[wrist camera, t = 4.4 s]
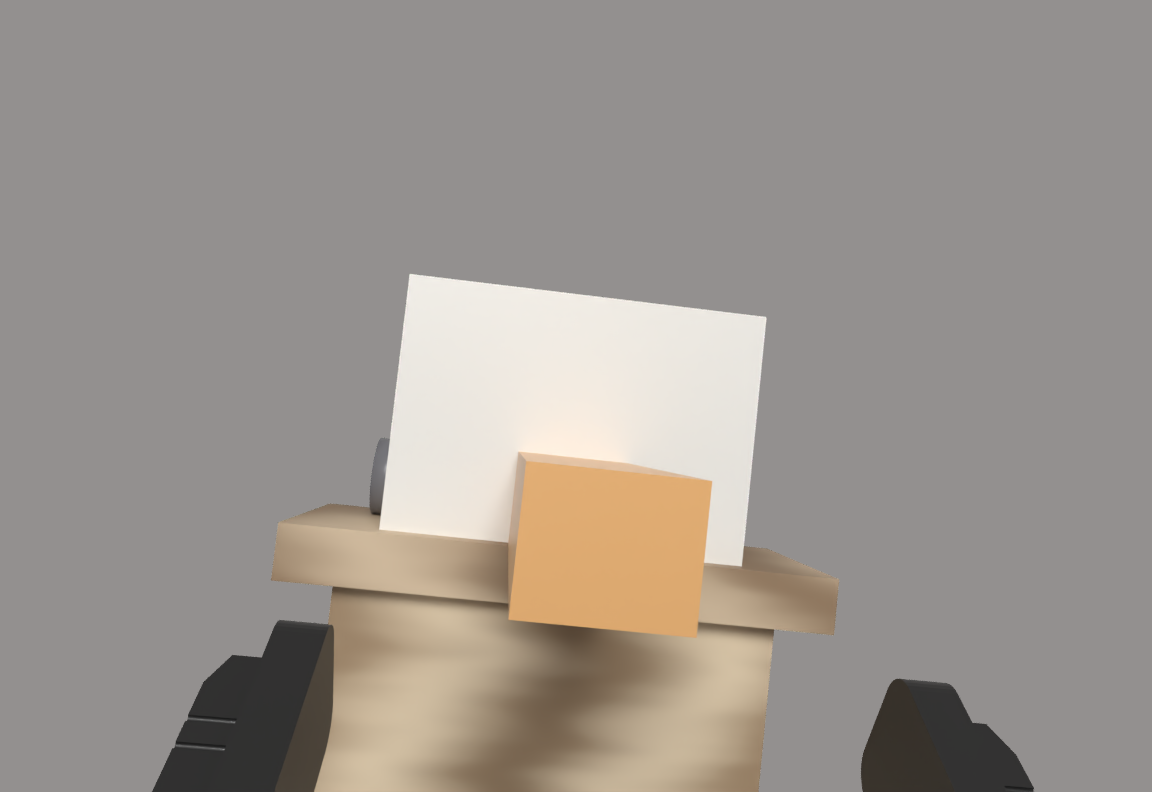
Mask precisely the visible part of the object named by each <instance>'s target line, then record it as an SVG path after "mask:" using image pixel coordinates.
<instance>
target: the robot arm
mask: <svg viewBox="0 0 1152 792" xmlns="http://www.w3.org/2000/svg"><path fill="white" fill-rule="evenodd" d="M333 679H334V628H333V625H328V624H317V623H306V622H295V621H284V620H279V621H278V622H277V623H276V625H275V627H274V629H273V631H272V634H271V636H270V639H269V641H268V644H267V646H266V649H265V651H264V654H263V656H262V658H259V657H248V656H237V655H232V656H231V657H230V658H229V659H228V660H227V661H226V662H225V663H224V664H223V665H221V666H220V668H218V669H217V670H216V671H215V672H214V673H213V674H212V675H211V676H210V677H208V678H207V679H206V681H204V682H203V685H202V687H201V689H200V691H199V693H198V695H197V697H196V699H195V701H194V704H193V706H192V708H191V710H190V712H189V714H188V720H187V721H185V723H184V725H183V727H182V729H181V732H180V733H179V736H178V738H177V740H176V745H175V748H173V749H172V750H171V753H170V755H169V757H168V759H167V761H166V763H165V765H164V768H163V770H162V772H161V774H160V776H159V778H158V780H157V782H156V785H155V787H154V789H153V791H152V792H314V790H315V787H316V783H317V780H318V776H319V773H320V769H321V766H322V762H323V759H324V755H325V752H326V748H327V743H328V739H329V733H330V728H331V721H332V712H333ZM861 780H862V789H863V792H1033V789H1034V787H1033V786H1032V784H1031V782H1030V780H1029V778H1028V776H1027V774H1026V773H1025V771H1024V769H1023V767H1022V765H1021V763H1020V761H1019V760H1018V758H1017V756H1016V754H1014V752H1013V751H1012V750H1011V749H1010V748H1009V747H1008V746H1007V745H1006V744H1005V743H1004V742H1003V741H1002V740H1001V739H1000V738H999V737H998V736H997V735H996V734H995V733H994V732H993V731H992V730H991V729H990V728H989V727H988V726H987V725H986V724H979V723H972V721H971V720H970V717H969V716H968V714H967V712H966V710H965V708H964V706H963V704H962V702H961V700H960V698H959V696H958V694H957V692H956V690H955V689H954V688H953V687H952V686H951V685H950V684H947V683H937V682H927V681H917V680H905V679H895V680H894V681H893V682H892V683H891V684H890V686H889V688H888V690H887V693H886V695H885V698H884V700H883V703H882V706H881V708H880V711H879V714H878V716H877V719H876V721H875V724H874V726H873V729H872V732H871V734H870V737H869V739H868V742H867V744H866V747H865V750H864V753H863V757H862V764H861Z"/></svg>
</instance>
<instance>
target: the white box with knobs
mask: <svg viewBox="0 0 1152 792" xmlns="http://www.w3.org/2000/svg"><path fill="white" fill-rule="evenodd" d="M765 326H766V317H762V316H753V315H745V314H736V313H728V312H720V311H711V310H704V309H695V308H686V307H679V306H670V305H662V304H654V303H645V302H637V301H629V300H621V299H612V298H604V297H596V296H588V295H579V294H571V293H563V292H554V291H546V290H537V289H530V288H521V287H513V286H505V285H496V284H488V283H480V282H471V281H463V280H455V279H447V278H439V277H430V276H421V275H414V274H410V277H409V285H408V294H407V302H406V310H405V319H404V327H403V335H402V343H401V352H400V360H399V369H398V377H397V385H396V393H395V402H394V411H393V418H392V427H391V435H390V439H387V438H381V439H380V440H379V442H378V446H377V449H376V453H375V457H374V463H373V469H372V476H371V486H370V512H371V514H379V515H381V518H380V527H379V530H389V531H399V532H409V533H418V534H428V535H438V536H448V537H458V538H467V539H477V540H487V541H497V542H507V543H508V620H516V621H526V622H536V623H547V624H557V625H568V626H578V627H588V628H599V629H609V630H620V631H630V632H640V633H651V634H661V635H671V636H682V637H692V638H696V637H697V627H698V618H699V608H700V598H701V588H702V578H703V568H704V563H713V564H723V565H732V566H742V559H743V549H744V539H745V529H746V518H747V509H748V498H749V488H750V478H751V468H752V458H753V448H754V438H755V428H756V427H755V426H756V417H757V407H758V397H759V387H760V377H761V366H762V357H763V346H764V337H765Z"/></svg>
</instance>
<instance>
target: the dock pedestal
mask: <svg viewBox="0 0 1152 792" xmlns="http://www.w3.org/2000/svg"><path fill="white" fill-rule="evenodd" d="M380 518H381V515H379V514H371V512H370V508H367V507H358V506H349V505H339V504H328V505H325V506H322V507H319V508H317V509H314V510H311V511H308V512H306V513H303V514H300V515H298V516H295V517H292V518H289V519H287V520H284V521H281V522H279V523H278V531H277V538H276V546H275V554H274V562H273V570H272V578H271V580H274V581H284V582H293V583H305V584H315V585H324V586H333V589H332V597H331V605H330V613H329V622H328V625H333V628H334V679H333V712H332V721H331V728H330V733H329V739H328V743H327V748H326V752H325V755H324V759H323V762H322V766H321V769H320V773H319V776H318V780H317V783H316V787H315V790H314V792H758V789H759V779H760V769H761V758H762V748H763V737H764V728H765V716H766V707H767V697H768V686H769V676H770V675H769V674H770V666H771V654H772V645H773V635H774V629H776V630H786V631H796V632H807V633H817V634H828V635H834V628H835V616H836V607H837V595H838V585H839V579H837V578H834V577H832V576H829V575H827V574H825V573H823V572H820V571H818V570H816V569H813V568H811V567H809V566H806V565H804V564H801V563H799V562H797V561H794V560H792V559H790V558H787V557H785V556H783V555H780V554H778V553H776V552H773V551H771V550H769V549H765V548H755V547H745V546H744V549H743V559H742V566H732V565H723V564H713V563H704V568H703V578H702V588H701V598H700V608H699V618H698V627H697V637H696V638H692V637H682V636H671V635H661V634H651V633H640V632H630V631H620V630H609V629H599V628H588V627H578V626H568V625H557V624H547V623H536V622H526V621H516V620H508V543H507V542H497V541H487V540H477V539H467V538H458V537H448V536H438V535H428V534H418V533H409V532H399V531H389V530H379V527H380Z"/></svg>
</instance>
